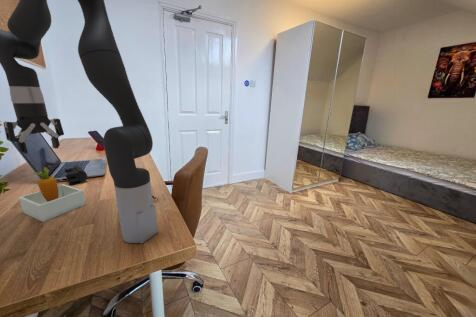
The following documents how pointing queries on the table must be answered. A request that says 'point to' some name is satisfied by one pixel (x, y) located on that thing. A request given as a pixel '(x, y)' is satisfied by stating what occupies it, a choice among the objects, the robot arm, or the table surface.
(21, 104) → the robot arm
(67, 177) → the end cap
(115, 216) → the table surface
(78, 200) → the bin
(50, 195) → the carrot
